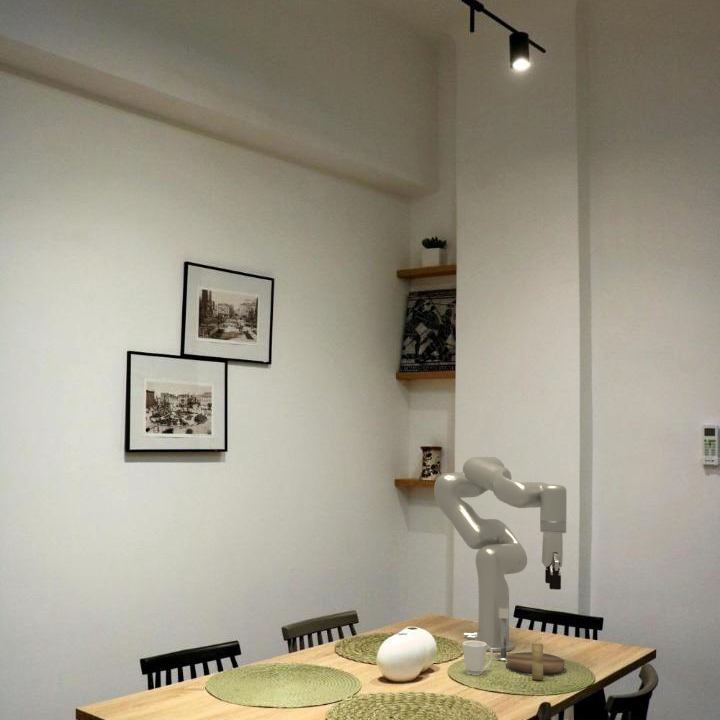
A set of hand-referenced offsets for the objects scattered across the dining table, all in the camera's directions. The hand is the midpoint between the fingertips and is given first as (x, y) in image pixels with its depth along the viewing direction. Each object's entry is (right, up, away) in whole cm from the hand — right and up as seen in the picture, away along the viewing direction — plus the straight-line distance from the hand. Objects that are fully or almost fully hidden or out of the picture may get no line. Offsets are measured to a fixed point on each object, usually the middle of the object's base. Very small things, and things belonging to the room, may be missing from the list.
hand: (552, 586), depth 250 cm
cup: (-23, -21, -11) cm, 34 cm away
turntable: (-7, -21, -9) cm, 24 cm away
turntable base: (-6, -22, -6) cm, 23 cm away
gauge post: (-14, -23, +3) cm, 27 cm away
